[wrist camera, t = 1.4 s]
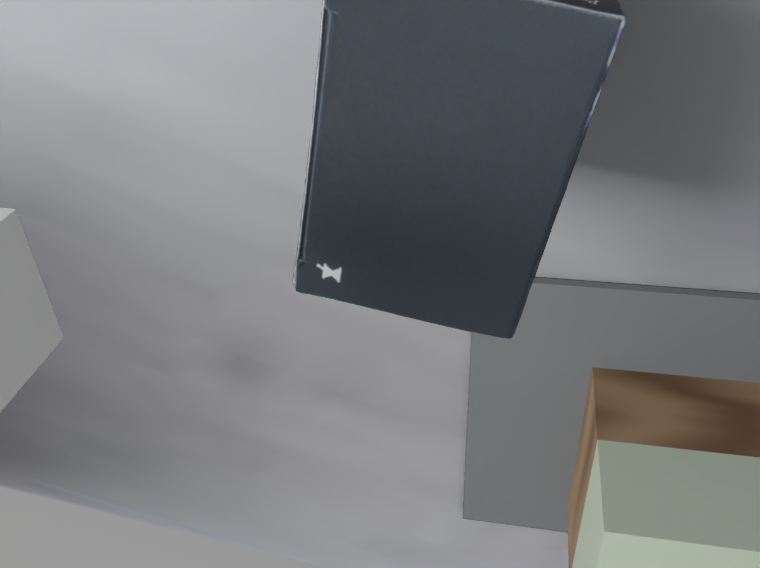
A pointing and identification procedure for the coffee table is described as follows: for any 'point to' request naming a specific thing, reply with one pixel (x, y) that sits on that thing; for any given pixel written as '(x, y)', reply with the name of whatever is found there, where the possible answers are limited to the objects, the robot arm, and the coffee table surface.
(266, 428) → the coffee table surface
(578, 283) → the felt mat
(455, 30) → the box
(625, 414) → the tower bottom
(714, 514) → the tower top
